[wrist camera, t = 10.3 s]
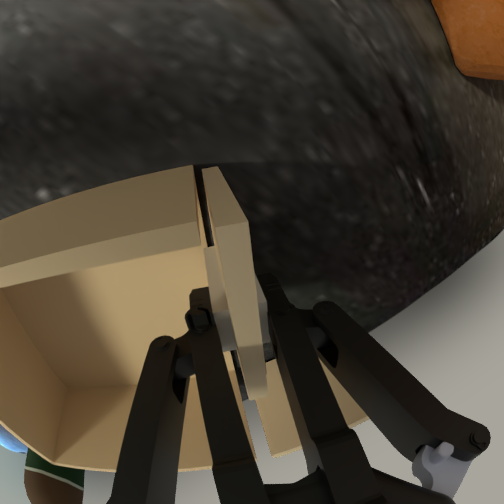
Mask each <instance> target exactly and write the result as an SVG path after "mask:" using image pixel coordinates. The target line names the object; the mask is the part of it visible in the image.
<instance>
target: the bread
mask: <svg viewBox="0 0 504 504" xmlns="http://www.w3.org/2000/svg"><path fill="white" fill-rule="evenodd" d="M431 3H432V5H433V7H434V9H435V11H436V14H437V16H438V18H439V21H440V23H441V26H442V28H443V31H444V33H445V36H446V39H447V41H448V44H449V47H450V50H451V53H452V56H453V59H454V62H455V65H456V67H457V68H458V69H459V71H460V72H461V73H463V74H464V75H466V76H471V77H478V78H485V79H494V80H504V0H431Z"/></svg>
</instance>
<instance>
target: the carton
mask: <svg viewBox="0 0 504 504" xmlns="http://www.w3.org/2000/svg"><path fill="white" fill-rule="evenodd" d="M203 248H207V242H206V237H205V231H204V226H203V221H202V215H201V210H200V204H199V199H198V193H197V187H196V181H195V175H194V169H193V165H189V166H184V167H179V168H174V169H169V170H164V171H159V172H155V173H150V174H146V175H142V176H137V177H133V178H129V179H125V180H121V181H117V182H113V183H110V184H106V185H102V186H99V187H95V188H92V189H88V190H85V191H82V192H78V193H75V194H72V195H69V196H65V197H62V198H59V199H56V200H53V201H50V202H47V203H44V204H42V205H39V206H36V207H33V208H30V209H28V210H25V211H22V212H20V213H17V214H15V215H12V216H10V217H7V218H5V219H2V220H0V424H1V425H2V426H3V427H4V428H6V429H7V430H8V431H9V432H10V433H11V434H13V435H14V436H15V437H16V438H17V439H19V440H20V441H21V442H22V443H24V444H25V445H26V446H27V447H29V448H30V449H31V450H33V451H34V452H35V453H37V454H38V455H40V456H41V457H42V458H44V459H45V460H47V461H48V462H50V463H51V464H53V465H58V466H64V467H70V468H77V469H86V470H94V471H105V472H116V468H117V464H118V459H119V455H120V450H121V446H122V442H123V438H124V433H125V429H126V425H127V422H128V418H129V414H130V410H131V406H132V403H133V399H134V395H135V392H136V388H137V385H138V381H139V378H140V375H141V371H142V368H143V365H144V361H145V358H146V355H147V352H148V349H149V346H150V344H151V342H152V341H153V340H154V339H155V338H157V337H159V336H164V335H167V336H171V337H173V338H174V339H176V338H178V337H181V336H182V335H184V334H185V333H187V331H188V327H187V324H186V321H185V314H186V312H187V311H188V310H190V303H189V295H190V293H191V291H192V289H197V288H202V287H207V286H208V279H207V271H206V264H205V256H204V249H203ZM223 354H224V358H225V362H226V365H227V369H228V373H229V376H230V380H231V383H232V387H233V390H234V394H235V397H236V401H237V404H238V408H239V411H240V414H241V417H242V421H243V424H244V427H245V430H246V434H247V437H248V440H249V443H250V446H251V449H252V452H253V455H254V458H255V461H257V458H256V454H255V450H254V446H253V443H252V439H251V435H250V431H249V427H248V423H247V419H246V415H245V411H244V407H243V403H242V398H241V394H240V390H239V386H238V381H237V377H236V373H235V369H234V365H233V361H232V357H231V352H230V351H226V352H223ZM212 465H213V461H212V456H211V452H210V448H209V443H208V439H207V434H206V429H205V424H204V420H203V414H202V409H201V404H200V399H199V393H198V387H197V382H196V376H195V374H194V375H192V376H190V382H189V389H188V396H187V403H186V410H185V417H184V424H183V432H182V440H181V448H180V456H179V465H178V472H183V471H195V470H204V469H212Z"/></svg>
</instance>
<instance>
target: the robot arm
mask: <svg viewBox="0 0 504 504" xmlns="http://www.w3.org/2000/svg"><path fill="white" fill-rule="evenodd" d="M203 249H204V256H205V264H206V271H207V279H208V286H207V287H202V288H197V289H192V291H191V293H190V295H189V303H190V310H188V311H187V312H186V314H185V321H186V324H187V327H188V331H187V333H185V334H184V335H182V336H181V337H178V338H176V339H174V338H173V337H171V336H167V335H164V336H159V337H157V338H155V339H154V340H153V341H152V342H151V344H150V346H149V349H148V352H147V355H146V358H145V361H144V365H143V368H142V371H141V375H140V378H139V381H138V385H137V388H136V392H135V395H134V399H133V403H132V406H131V410H130V414H129V418H128V422H127V425H126V429H125V433H124V438H123V442H122V446H121V450H120V455H119V459H118V464H117V468H116V473H115V478H114V483H113V489H112V494H111V497H110V499H109V500H108V502H107V503H106V504H175V494H176V484H177V474H178V473H177V472H178V465H179V456H180V448H181V440H182V432H183V424H184V417H185V410H186V403H187V396H188V389H189V382H190V376H192V375H194V374H195V376H196V382H197V387H198V393H199V399H200V404H201V409H202V414H203V420H204V424H205V429H206V434H207V439H208V443H209V448H210V452H211V456H212V461H213V465H212V471H213V476H214V480H215V484H216V488H217V492H218V495H219V499H220V503H221V504H455V502H454V501H453V500H452V499H453V497H454V495H455V493H456V491H457V490H458V488H459V486H460V484H461V482H462V480H463V478H464V476H465V474H466V472H467V470H468V468H469V466H470V464H471V462H472V460H473V459H474V458H476V457H477V456H478V455H480V454H481V453H482V452H483V451H485V450H486V449H487V447H488V446H489V444H490V438H491V437H490V432H489V430H488V429H487V427H485V426H484V425H482V424H480V423H478V422H475V421H473V420H471V419H469V418H466V417H464V416H462V415H460V414H457V413H455V412H453V411H451V410H449V409H447V408H446V407H445V406H444V405H443V404H442V403H441V402H440V401H439V400H438V399H437V398H436V397H434V395H432V393H430V392H429V391H428V390H427V389H426V388H425V387H424V386H423V385H422V384H421V383H420V382H419V381H418V380H417V379H416V378H415V377H414V376H413V375H412V374H411V373H410V372H409V371H408V370H406V369H405V368H404V367H403V366H402V365H401V364H400V363H399V362H398V361H397V360H396V359H395V358H394V357H393V356H392V355H391V354H390V353H389V352H388V351H386V350H385V349H384V348H383V347H382V346H381V345H380V344H379V343H378V342H377V341H376V340H375V339H374V338H373V337H372V336H370V335H369V334H368V333H367V332H366V331H365V330H364V329H363V328H362V327H361V326H360V325H359V324H358V323H356V322H355V321H354V320H353V319H352V318H351V317H350V316H349V315H348V314H347V313H346V312H345V311H343V310H342V309H341V308H340V307H339V306H338V305H337V304H335V303H334V302H330V301H322V302H319V303H317V304H315V306H314V307H313V310H303V309H297V308H296V307H295V306H294V305H293V304H291V303H289V301H288V299H287V297H286V295H285V293H284V291H283V289H282V288H281V286H280V284H279V282H278V280H277V278H276V277H275V276H274V275H272V274H271V273H269V274H264V275H259V276H256V275H255V272H254V275H255V283H256V292H257V301H258V309H259V318H260V326H261V335H262V343H268V342H270V338H271V340H272V347H273V358H275V359H276V362H277V365H278V369H279V372H280V375H281V379H282V382H283V385H284V389H285V392H286V396H287V399H288V402H289V406H290V409H291V412H292V416H293V419H294V422H295V425H296V429H297V432H298V435H299V439H300V442H301V445H302V449H303V452H304V455H305V458H306V463H307V469H308V474H309V475H308V476H306V477H305V478H303V479H301V480H299V481H297V482H295V483H291V484H263V481H262V479H261V476H260V473H259V470H258V467H257V464H256V461H255V458H254V455H253V452H252V449H251V446H250V443H249V440H248V437H247V434H246V430H245V427H244V424H243V421H242V417H241V414H240V411H239V408H238V404H237V401H236V397H235V394H234V390H233V387H232V383H231V380H230V376H229V373H228V369H227V365H226V362H225V358H224V354H223V352H226V351H231V350H236V349H237V346H236V342H235V337H234V332H233V327H232V322H231V318H230V313H229V308H228V304H227V299H226V295H225V290H224V286H223V281H222V277H221V272H220V268H219V263H218V259H217V254H216V249H215V246H212V247H207V248H203ZM319 359H320V360H321V361H322V362H323V364H324V365H325V366H326V367H327V368H328V370H329V371H330V372H331V373H332V374H333V376H334V377H335V378H336V379H337V380H338V382H339V383H340V384H341V385H342V386H343V388H344V389H345V390H346V391H347V392H348V393H349V395H350V396H351V397H352V398H353V399H354V401H355V402H356V403H357V404H358V405H359V406H360V408H361V409H362V410H363V411H364V412H365V414H366V415H367V416H368V417H369V418H370V419H371V421H373V423H374V424H375V425H376V426H377V428H378V429H379V430H380V431H381V432H382V433H383V435H384V436H385V437H386V438H387V439H388V440H389V441H390V442H391V444H392V445H393V446H394V447H395V448H396V449H397V450H398V451H399V452H400V453H401V454H402V455H403V456H404V457H406V458H407V459H408V460H410V461H411V462H413V464H412V471H413V475H414V476H416V477H417V478H418V479H419V480H420V481H421V483H422V487H421V486H418V485H415V484H412V483H409V482H406V481H404V480H401V479H399V478H396V477H393V476H391V475H389V474H386V473H384V472H381V471H379V470H376V469H374V468H372V467H371V466H370V464H369V462H368V459H367V457H366V454H365V452H364V450H363V447H362V445H361V443H360V440H359V438H358V436H357V434H356V432H355V431H354V430H353V429H350V428H349V427H348V425H347V423H346V421H345V419H344V416H343V414H342V412H341V409H340V407H339V405H338V402H337V400H336V397H335V395H334V393H333V391H332V388H331V386H330V384H329V381H328V379H327V377H326V374H325V372H324V370H323V367H322V365H321V363H320V361H319Z"/></svg>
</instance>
